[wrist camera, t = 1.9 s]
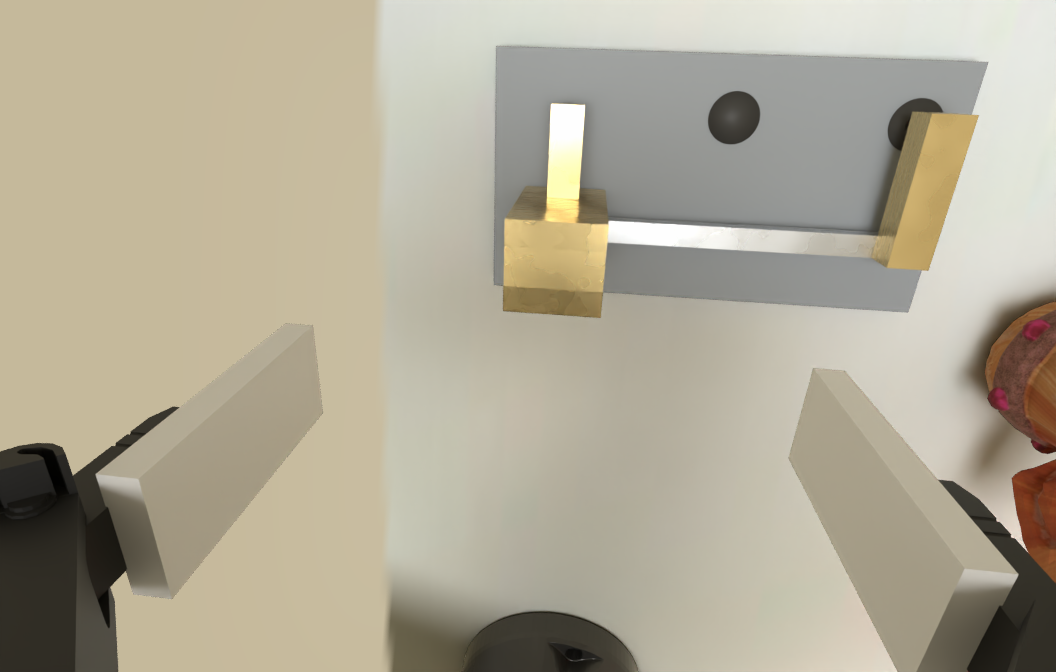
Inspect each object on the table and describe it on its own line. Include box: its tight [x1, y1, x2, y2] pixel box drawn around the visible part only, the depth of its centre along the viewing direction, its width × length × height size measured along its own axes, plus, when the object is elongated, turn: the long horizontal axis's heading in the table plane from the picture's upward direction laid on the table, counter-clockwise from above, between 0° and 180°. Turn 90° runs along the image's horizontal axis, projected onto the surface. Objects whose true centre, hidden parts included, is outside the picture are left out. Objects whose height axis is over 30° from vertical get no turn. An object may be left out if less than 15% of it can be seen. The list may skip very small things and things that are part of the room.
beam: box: [607, 112, 979, 271], centre depth 30 cm, size 22×7×3 cm, turn 88°
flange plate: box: [494, 46, 988, 312], centre depth 32 cm, size 24×13×1 cm, turn 88°
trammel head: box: [503, 102, 609, 318], centre depth 28 cm, size 4×9×8 cm, turn 178°
